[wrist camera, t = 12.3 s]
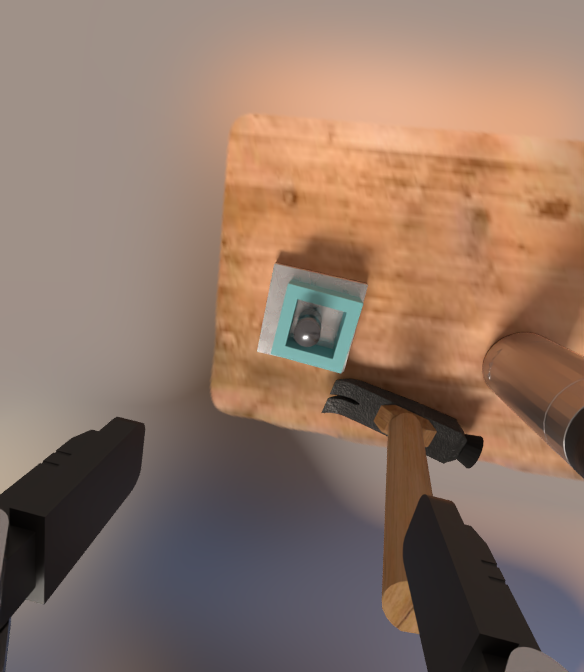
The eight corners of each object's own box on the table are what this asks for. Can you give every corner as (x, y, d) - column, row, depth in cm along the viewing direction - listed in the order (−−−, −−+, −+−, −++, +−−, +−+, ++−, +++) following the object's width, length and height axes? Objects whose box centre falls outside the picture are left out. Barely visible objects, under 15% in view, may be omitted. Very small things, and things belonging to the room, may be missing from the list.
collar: (360, 297, 45) (363, 303, 41) (340, 362, 47) (341, 373, 44) (291, 279, 45) (288, 283, 41) (275, 344, 48) (270, 354, 44)
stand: (366, 283, 46) (374, 294, 38) (343, 368, 49) (345, 394, 41) (276, 262, 46) (264, 268, 38) (259, 348, 50) (245, 370, 41)
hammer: (329, 396, 53) (254, 552, 25) (342, 367, 52) (279, 497, 23) (461, 459, 50) (551, 724, 21) (479, 429, 48) (601, 672, 20)
